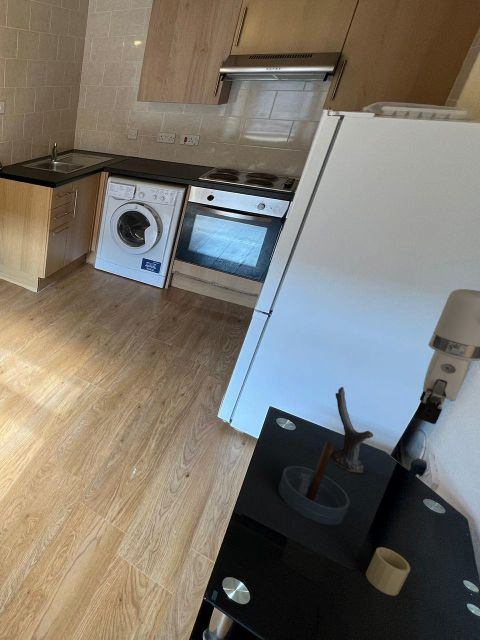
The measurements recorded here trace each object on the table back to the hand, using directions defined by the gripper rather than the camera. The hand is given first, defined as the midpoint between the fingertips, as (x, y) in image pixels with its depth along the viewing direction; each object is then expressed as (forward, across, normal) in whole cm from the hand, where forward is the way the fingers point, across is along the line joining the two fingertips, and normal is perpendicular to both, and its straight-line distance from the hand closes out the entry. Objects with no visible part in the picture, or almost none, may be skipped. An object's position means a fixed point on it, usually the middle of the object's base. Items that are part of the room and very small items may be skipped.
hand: (427, 411), depth 92 cm
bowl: (+38, -1, +13) cm, 40 cm away
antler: (+38, +26, +11) cm, 48 cm away
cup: (+38, -15, -4) cm, 41 cm away
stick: (+38, -1, +13) cm, 40 cm away
